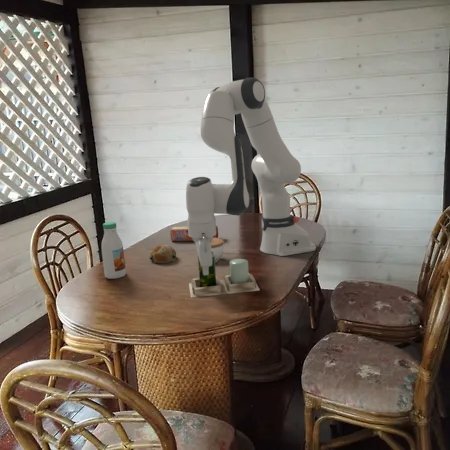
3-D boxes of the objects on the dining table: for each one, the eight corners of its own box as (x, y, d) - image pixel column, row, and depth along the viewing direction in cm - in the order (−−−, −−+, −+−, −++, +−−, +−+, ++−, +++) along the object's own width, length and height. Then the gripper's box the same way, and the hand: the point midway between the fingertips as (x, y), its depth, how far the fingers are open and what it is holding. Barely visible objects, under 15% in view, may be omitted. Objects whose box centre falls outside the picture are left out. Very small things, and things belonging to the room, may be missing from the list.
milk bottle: (107, 281, 169) (101, 227, 164) (102, 274, 176) (96, 222, 171) (128, 276, 172) (122, 223, 167) (123, 270, 179) (117, 219, 174)
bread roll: (167, 273, 184) (174, 255, 182) (144, 262, 185) (150, 244, 183) (175, 264, 194) (182, 247, 191) (152, 253, 194) (159, 237, 192)
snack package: (170, 242, 212) (169, 228, 210) (174, 238, 218) (172, 224, 216) (217, 242, 209) (216, 227, 207) (219, 238, 215) (218, 223, 213)
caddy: (253, 280, 162) (252, 271, 161) (260, 293, 151) (259, 284, 150) (189, 286, 160) (188, 277, 159) (191, 300, 148) (190, 291, 147)
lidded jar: (229, 261, 183) (228, 237, 181) (205, 267, 178) (203, 243, 175) (216, 254, 192) (214, 232, 190) (192, 259, 187) (190, 237, 184)
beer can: (207, 283, 158) (204, 249, 155) (219, 286, 155) (217, 252, 152) (196, 289, 154) (194, 254, 151) (209, 292, 151) (206, 256, 148)
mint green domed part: (247, 280, 159) (246, 258, 157) (250, 287, 153) (249, 264, 151) (229, 282, 158) (228, 259, 156) (232, 289, 152) (231, 265, 150)
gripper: (215, 237, 140) (218, 281, 143) (209, 221, 159) (211, 259, 163) (194, 239, 139) (197, 283, 142) (190, 222, 159) (193, 261, 162)
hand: (204, 270), depth 153 cm, fingers closed on beer can, 5 cm apart
